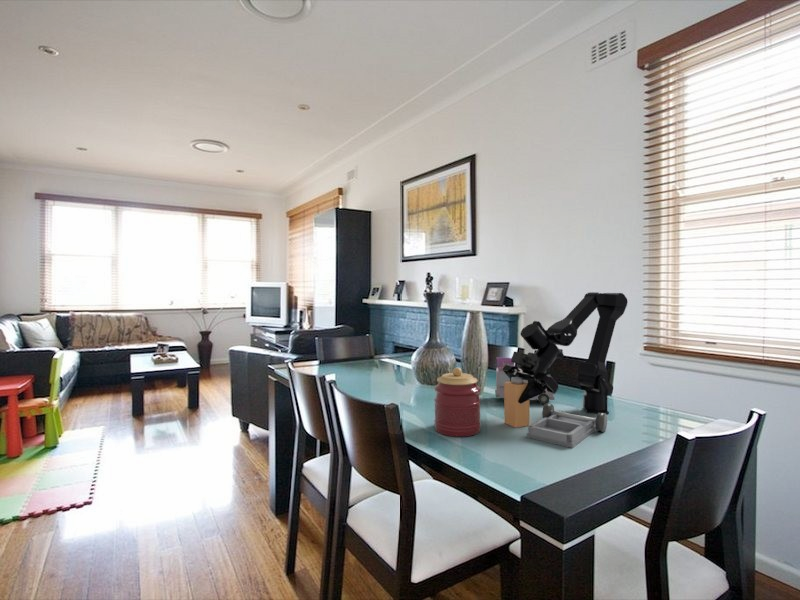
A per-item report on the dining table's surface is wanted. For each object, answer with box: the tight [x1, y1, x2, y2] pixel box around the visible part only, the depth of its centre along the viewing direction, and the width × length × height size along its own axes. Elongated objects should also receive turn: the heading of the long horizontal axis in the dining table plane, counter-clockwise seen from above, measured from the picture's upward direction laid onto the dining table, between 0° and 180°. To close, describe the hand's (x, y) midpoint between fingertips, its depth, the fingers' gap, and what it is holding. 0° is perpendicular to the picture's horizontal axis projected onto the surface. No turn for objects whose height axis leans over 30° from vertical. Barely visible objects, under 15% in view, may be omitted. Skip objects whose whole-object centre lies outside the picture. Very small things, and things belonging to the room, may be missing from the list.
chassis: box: [526, 402, 608, 449], centre depth 118 cm, size 22×17×5 cm
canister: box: [433, 366, 482, 438], centre depth 120 cm, size 13×13×18 cm
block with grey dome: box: [503, 377, 530, 429], centre depth 125 cm, size 5×5×14 cm
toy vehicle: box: [494, 356, 555, 405], centre depth 151 cm, size 9×20×15 cm, turn 78°
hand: (513, 400), depth 124 cm, fingers closed on block with grey dome, 5 cm apart
